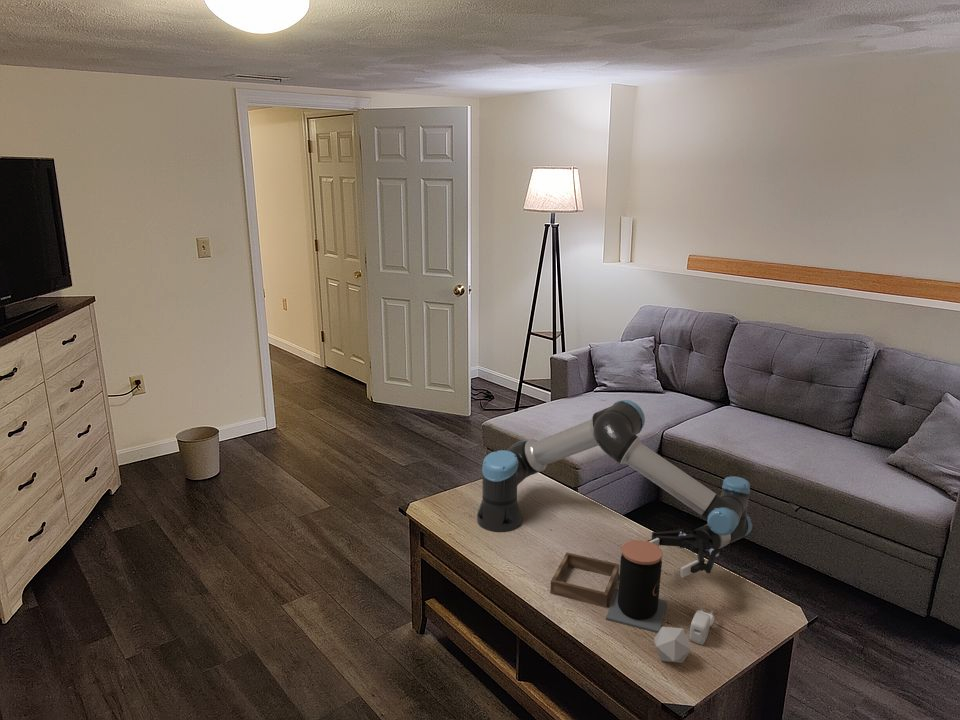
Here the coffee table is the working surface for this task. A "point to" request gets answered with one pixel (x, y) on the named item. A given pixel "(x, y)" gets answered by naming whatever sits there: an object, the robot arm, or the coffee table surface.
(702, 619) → the power adapter
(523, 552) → the coffee table surface
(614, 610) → the rubber mat
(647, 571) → the coffee jar
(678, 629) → the die
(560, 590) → the walnut crate
